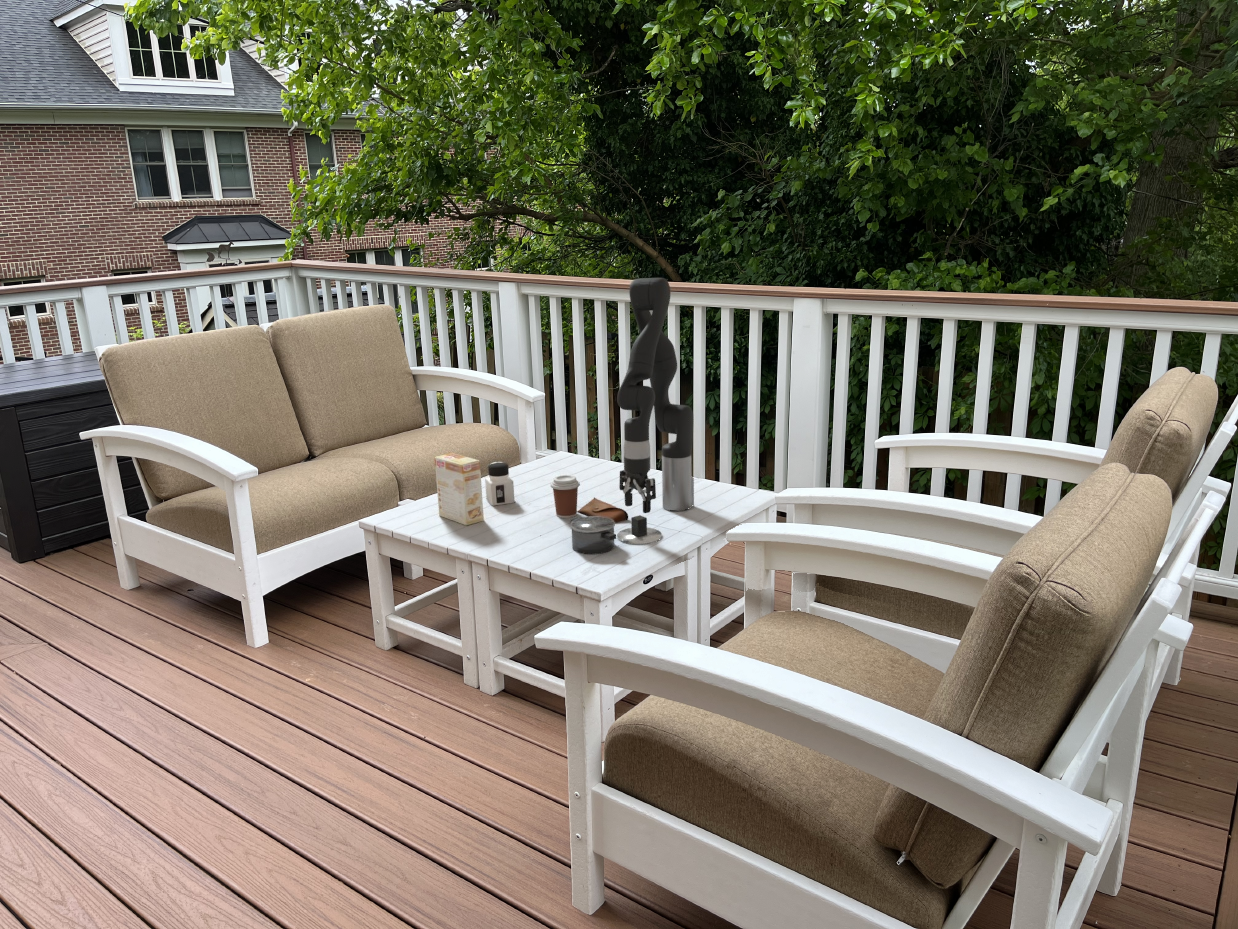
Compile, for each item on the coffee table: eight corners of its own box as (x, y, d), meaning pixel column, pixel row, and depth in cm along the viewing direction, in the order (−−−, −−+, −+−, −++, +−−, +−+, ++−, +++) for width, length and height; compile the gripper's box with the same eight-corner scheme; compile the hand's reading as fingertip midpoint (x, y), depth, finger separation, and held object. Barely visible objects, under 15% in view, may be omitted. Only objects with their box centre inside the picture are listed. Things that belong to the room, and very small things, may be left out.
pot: (592, 533, 281) (591, 510, 279) (631, 550, 266) (630, 527, 264) (556, 542, 274) (555, 519, 272) (594, 561, 259) (593, 537, 257)
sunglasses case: (573, 511, 301) (581, 491, 301) (589, 518, 305) (597, 498, 305) (606, 525, 287) (615, 505, 287) (623, 532, 291) (631, 512, 291)
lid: (643, 527, 285) (642, 507, 284) (670, 538, 275) (670, 518, 274) (608, 537, 278) (607, 517, 276) (635, 549, 268) (634, 528, 266)
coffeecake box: (484, 520, 295) (480, 460, 289) (466, 526, 290) (461, 464, 285) (456, 510, 305) (452, 451, 300) (438, 515, 300) (433, 456, 295)
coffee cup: (566, 508, 304) (565, 472, 301) (587, 513, 298) (585, 477, 295) (546, 515, 298) (544, 478, 295) (566, 521, 292) (564, 484, 288)
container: (514, 503, 311) (512, 464, 307) (491, 506, 308) (489, 467, 305) (508, 496, 318) (506, 459, 314) (486, 499, 315) (483, 462, 312)
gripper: (662, 457, 267) (663, 512, 271) (632, 448, 278) (633, 501, 282) (641, 461, 262) (642, 517, 266) (611, 452, 273) (612, 506, 278)
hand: (637, 509), depth 274 cm, fingers open, 8 cm apart
